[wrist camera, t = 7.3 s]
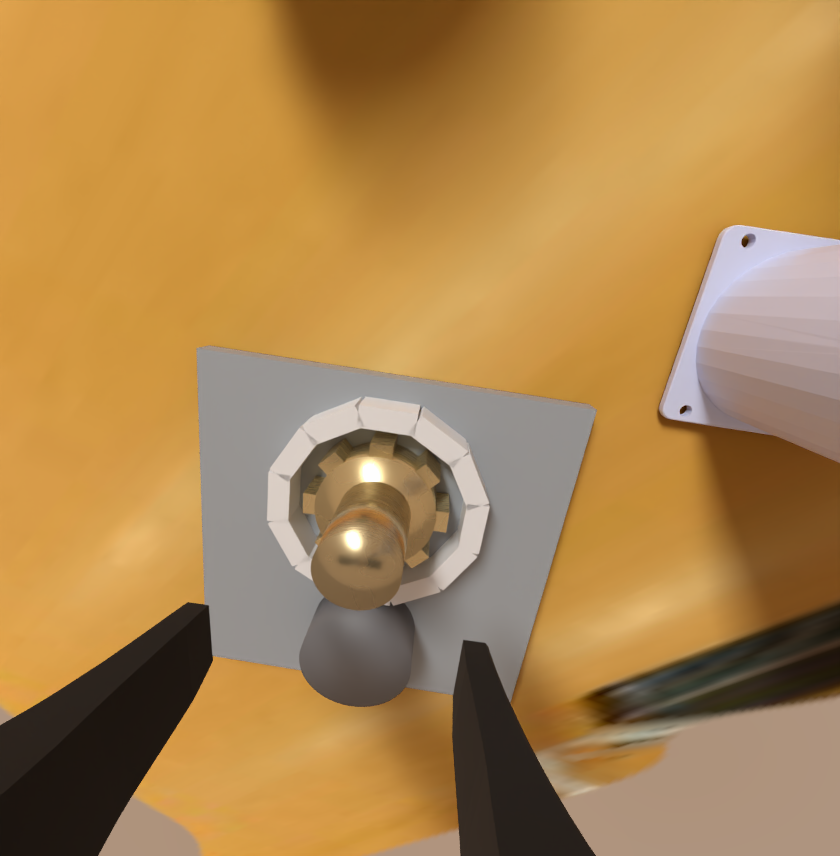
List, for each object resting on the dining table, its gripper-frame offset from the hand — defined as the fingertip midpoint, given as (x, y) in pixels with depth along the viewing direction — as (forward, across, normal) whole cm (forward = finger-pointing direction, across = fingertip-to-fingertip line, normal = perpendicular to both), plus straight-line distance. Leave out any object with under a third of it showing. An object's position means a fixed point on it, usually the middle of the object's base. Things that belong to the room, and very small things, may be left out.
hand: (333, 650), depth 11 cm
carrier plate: (+10, 0, +3) cm, 10 cm away
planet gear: (+9, 0, 0) cm, 9 cm away
